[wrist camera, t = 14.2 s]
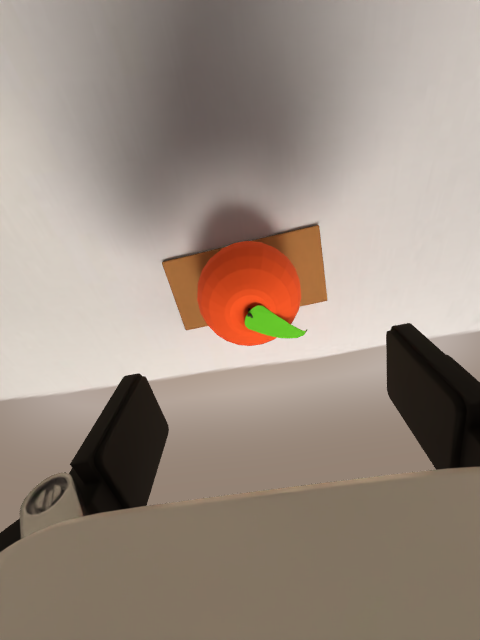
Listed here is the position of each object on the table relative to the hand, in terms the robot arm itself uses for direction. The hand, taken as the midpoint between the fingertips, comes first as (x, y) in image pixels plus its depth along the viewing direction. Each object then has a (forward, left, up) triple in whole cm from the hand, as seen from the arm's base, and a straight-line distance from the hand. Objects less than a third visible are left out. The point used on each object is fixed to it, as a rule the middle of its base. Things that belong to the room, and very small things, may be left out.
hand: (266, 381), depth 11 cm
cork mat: (+1, 0, -13) cm, 13 cm away
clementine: (0, 0, -13) cm, 13 cm away
